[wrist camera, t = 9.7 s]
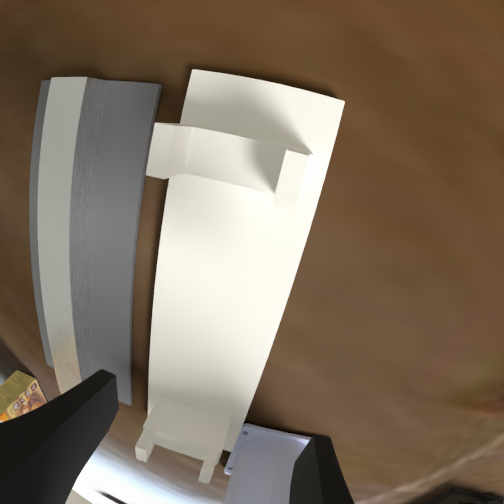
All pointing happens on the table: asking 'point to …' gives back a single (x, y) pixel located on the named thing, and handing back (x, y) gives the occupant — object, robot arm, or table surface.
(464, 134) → the table surface
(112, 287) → the rubber mat
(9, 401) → the candy box
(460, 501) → the diary
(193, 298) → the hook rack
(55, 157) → the rail
